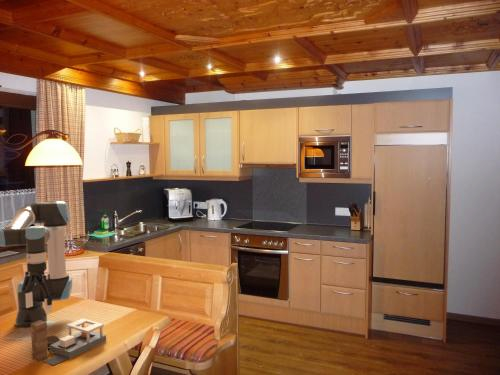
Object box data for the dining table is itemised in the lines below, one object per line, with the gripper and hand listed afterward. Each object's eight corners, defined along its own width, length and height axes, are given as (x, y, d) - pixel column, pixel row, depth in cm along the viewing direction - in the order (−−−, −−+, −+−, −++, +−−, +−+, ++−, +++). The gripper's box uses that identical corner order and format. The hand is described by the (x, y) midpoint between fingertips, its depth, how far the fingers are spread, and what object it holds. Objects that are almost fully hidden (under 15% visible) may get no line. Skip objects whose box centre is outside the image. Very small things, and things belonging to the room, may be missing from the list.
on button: (59, 345, 188) (59, 339, 188) (69, 341, 192) (68, 335, 192) (65, 347, 186) (64, 341, 186) (74, 343, 190) (74, 336, 190)
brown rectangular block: (32, 359, 182) (30, 323, 181) (41, 354, 186) (40, 320, 185) (38, 361, 180) (36, 325, 179) (48, 357, 184) (46, 322, 183)
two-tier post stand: (49, 351, 190) (48, 332, 189) (86, 334, 207) (85, 317, 206) (70, 358, 182) (69, 339, 182) (106, 341, 199) (106, 323, 199)
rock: (34, 354, 188) (33, 346, 188) (36, 344, 198) (36, 337, 197) (61, 349, 192) (60, 341, 192) (62, 340, 202) (61, 333, 201)
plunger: (79, 336, 197) (79, 328, 197) (86, 333, 200) (86, 325, 200) (85, 337, 195) (84, 329, 195) (91, 335, 198) (91, 326, 198)
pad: (43, 361, 180) (43, 361, 180) (57, 355, 186) (57, 354, 186) (53, 365, 176) (53, 364, 176) (68, 358, 182) (68, 358, 182)
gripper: (11, 260, 183) (13, 307, 185) (46, 267, 171) (49, 317, 173) (27, 257, 190) (29, 302, 191) (62, 263, 178) (64, 311, 179)
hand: (38, 309), depth 182 cm, fingers open, 13 cm apart
